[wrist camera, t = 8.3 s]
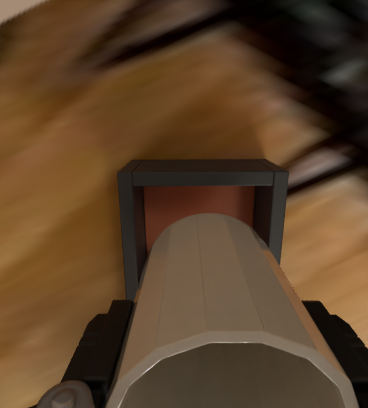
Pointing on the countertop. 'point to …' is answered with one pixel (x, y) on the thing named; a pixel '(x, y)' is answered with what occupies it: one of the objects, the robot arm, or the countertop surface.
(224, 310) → the cup
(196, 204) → the cup holder
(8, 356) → the countertop surface
